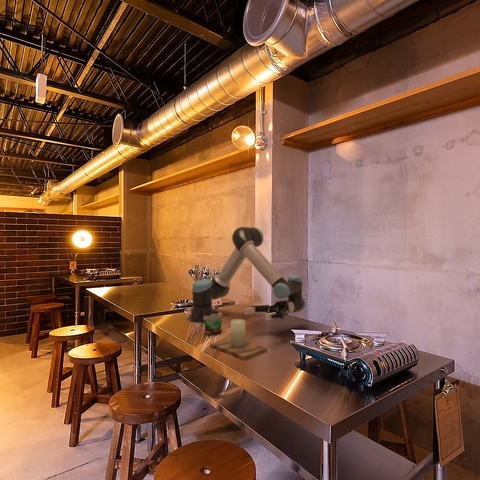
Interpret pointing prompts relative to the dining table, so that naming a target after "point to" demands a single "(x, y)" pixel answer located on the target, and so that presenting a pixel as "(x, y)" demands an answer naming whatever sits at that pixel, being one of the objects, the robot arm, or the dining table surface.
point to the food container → (213, 323)
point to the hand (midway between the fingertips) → (255, 314)
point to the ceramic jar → (237, 333)
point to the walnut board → (239, 349)
